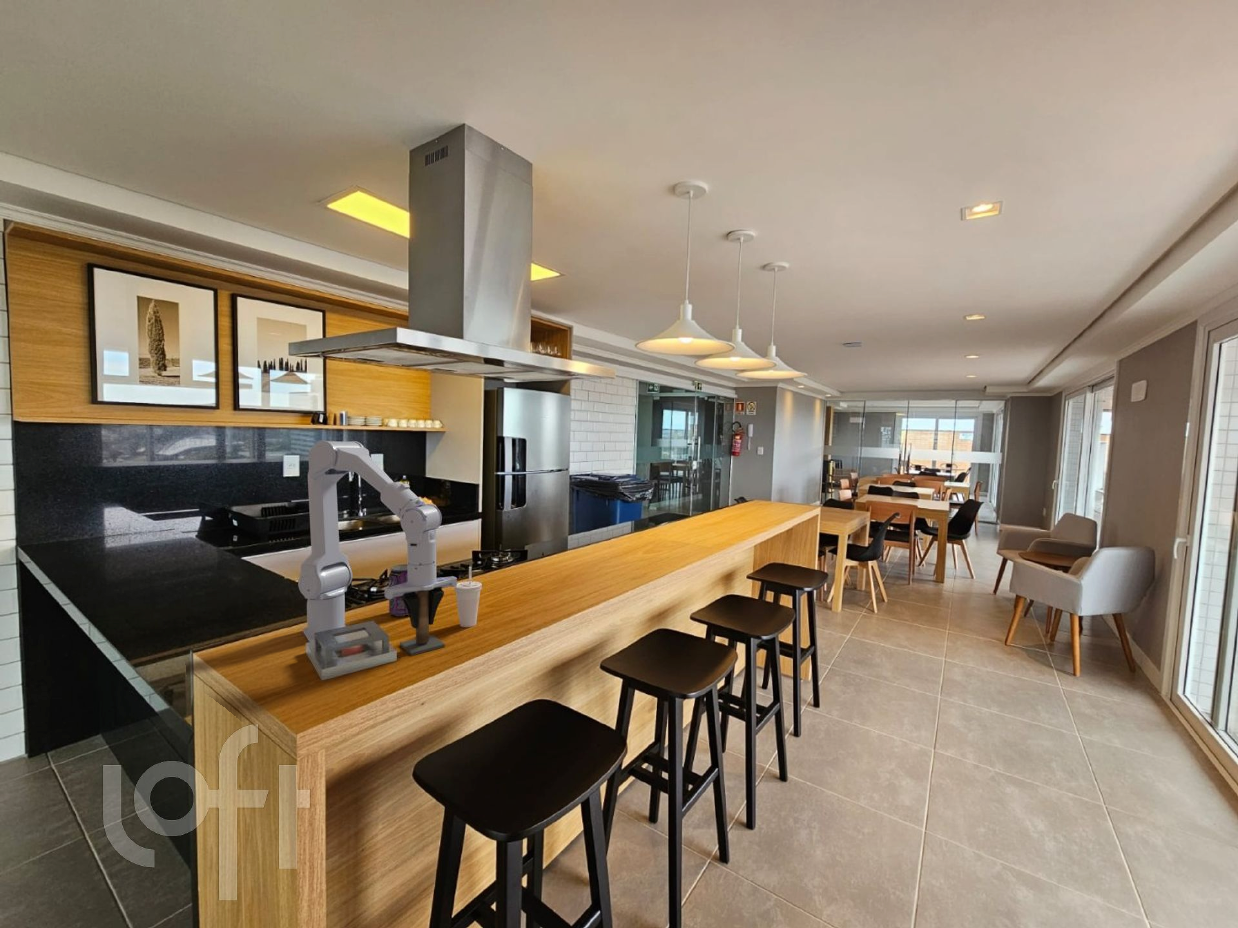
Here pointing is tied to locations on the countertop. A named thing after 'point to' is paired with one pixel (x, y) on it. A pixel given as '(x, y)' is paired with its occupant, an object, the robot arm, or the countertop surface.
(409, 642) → the rubber pad
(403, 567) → the beverage can
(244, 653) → the countertop surface
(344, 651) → the breaker plunger
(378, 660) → the box
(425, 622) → the walnut dowel
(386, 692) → the countertop surface
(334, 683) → the countertop surface
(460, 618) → the smoothie
